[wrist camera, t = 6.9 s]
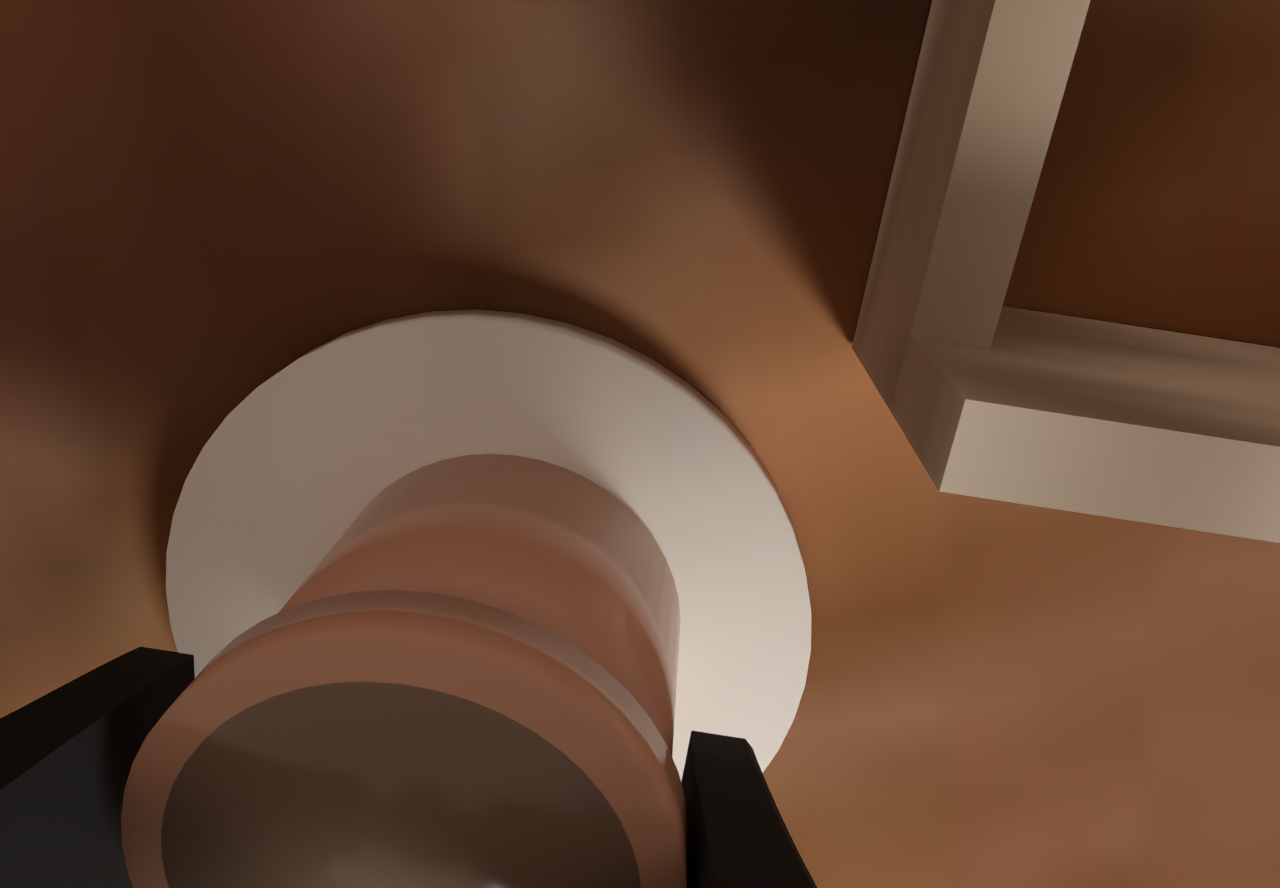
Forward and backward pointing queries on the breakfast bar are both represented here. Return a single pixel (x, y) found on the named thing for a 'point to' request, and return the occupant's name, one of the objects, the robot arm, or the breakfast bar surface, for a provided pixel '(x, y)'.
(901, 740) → the breakfast bar surface
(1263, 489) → the frame
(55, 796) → the robot arm
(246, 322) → the breakfast bar surface
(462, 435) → the coaster
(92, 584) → the breakfast bar surface
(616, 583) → the flower pot
